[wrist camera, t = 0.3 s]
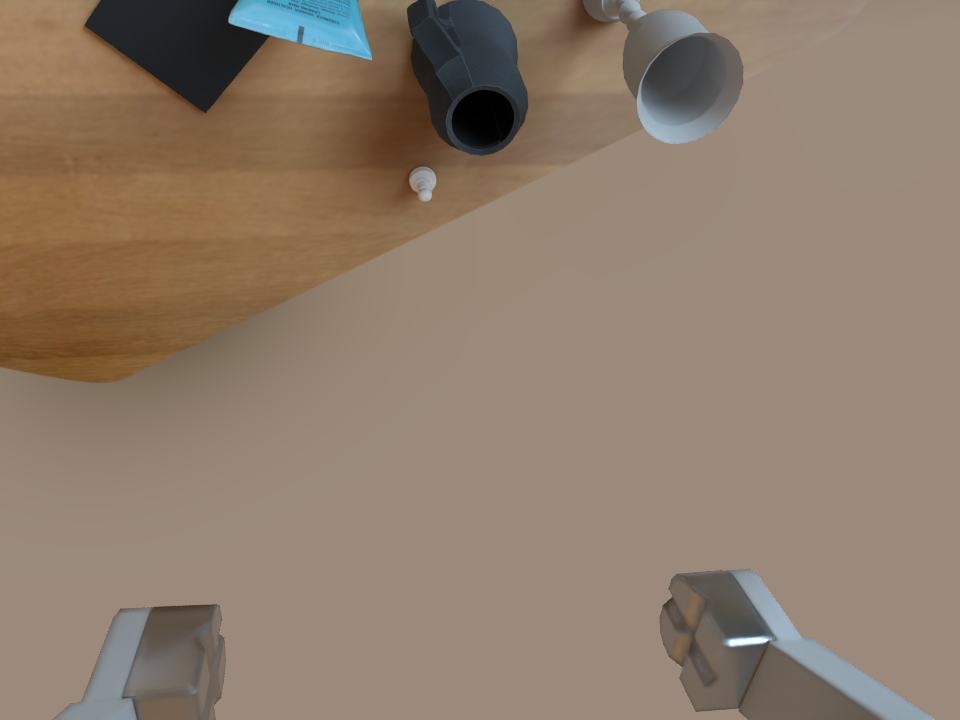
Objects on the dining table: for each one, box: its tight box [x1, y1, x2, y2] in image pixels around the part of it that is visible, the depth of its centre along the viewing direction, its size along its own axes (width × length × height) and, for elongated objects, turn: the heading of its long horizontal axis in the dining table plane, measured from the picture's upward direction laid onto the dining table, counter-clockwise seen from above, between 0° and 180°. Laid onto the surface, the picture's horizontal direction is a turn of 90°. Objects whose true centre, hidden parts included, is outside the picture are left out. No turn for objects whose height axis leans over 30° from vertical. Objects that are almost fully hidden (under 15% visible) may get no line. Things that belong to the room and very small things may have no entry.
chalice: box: [583, 0, 743, 143], centre depth 48 cm, size 7×7×18 cm
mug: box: [407, 0, 528, 156], centre depth 51 cm, size 12×9×11 cm
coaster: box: [85, 0, 270, 113], centre depth 51 cm, size 10×10×1 cm
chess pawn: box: [409, 167, 436, 202], centre depth 63 cm, size 3×3×4 cm
